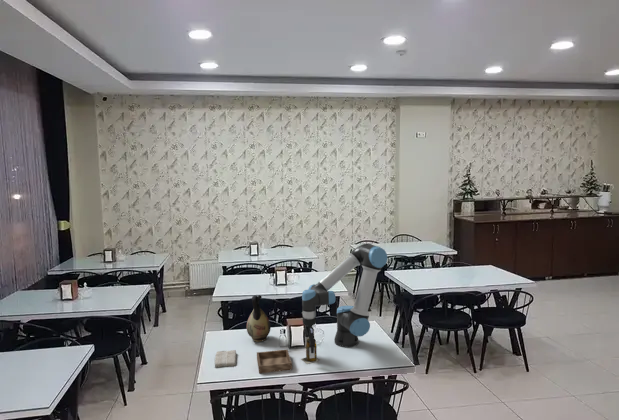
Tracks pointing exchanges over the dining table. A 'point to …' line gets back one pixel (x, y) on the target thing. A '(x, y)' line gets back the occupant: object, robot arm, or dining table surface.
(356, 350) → the dining table surface
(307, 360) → the condiment
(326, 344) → the dining table surface
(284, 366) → the tray
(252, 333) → the ceramic jug
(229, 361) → the washcloth
